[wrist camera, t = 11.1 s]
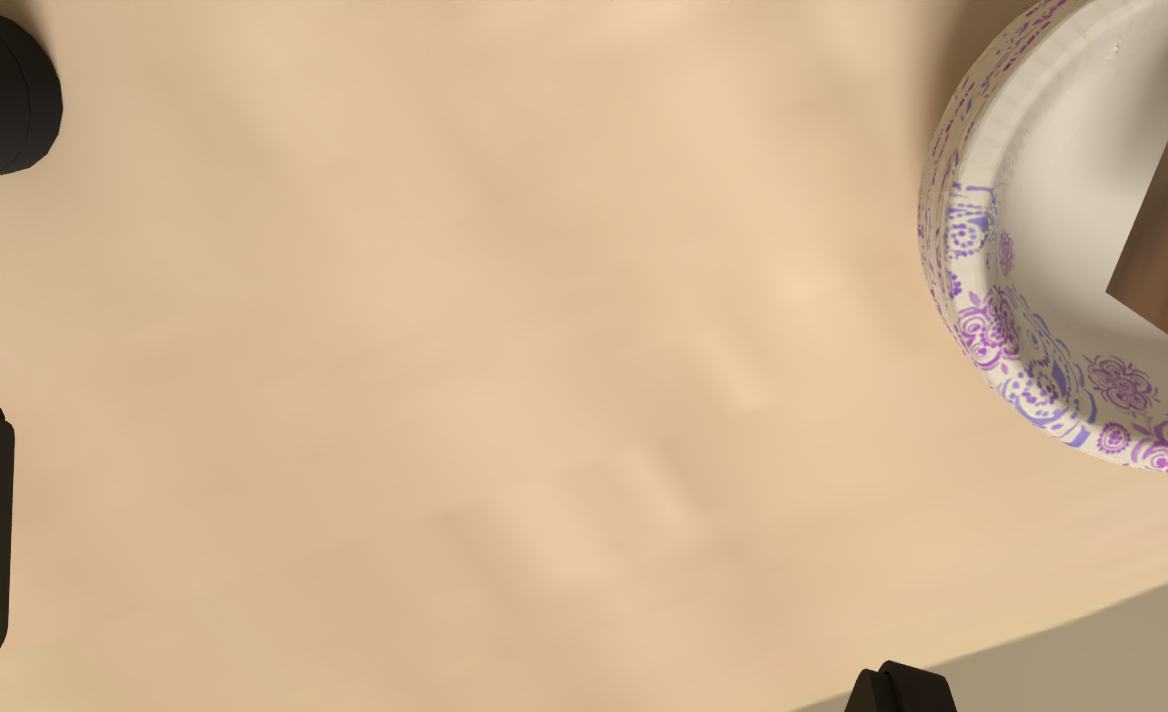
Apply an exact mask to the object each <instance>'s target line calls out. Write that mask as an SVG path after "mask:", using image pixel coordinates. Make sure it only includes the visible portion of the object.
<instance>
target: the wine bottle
mask: <svg viewBox="0 0 1168 712" xmlns="http://www.w3.org/2000/svg"><path fill="white" fill-rule="evenodd" d="M61 116H62V103H61V93H60V85H59V83H58V80H57V77H56V75H55V72H54V70H53V67H52V65H51V62H50V60H49V58H48V57H47V56H46V54H45V53H44V51H43V50H42V49H41V47H40V46H39V44H38V43H37V42H36V40H35V39H34V38H33V37H32V36H31V35H30V34H28V33H27V32H26V31H25V30H23V29H22V28H21V27H20V26H19V25H17V24H16V23H15V22H14V21H12V20H10V19H7V18H5V17H3V16H0V175H4V174H9V173H13V172H16V171H20V170H23V169H27V168H30V167H31V166H33V165H34V164H35V163H36V162H38V161H39V160H40V159H41V158H43V157H44V156H45V155H46V154H47V153H48V151H49V150H50V148H51V146H52V144H53V143H54V141H55V139H56V137H57V136H58V132H59V127H60V121H61Z"/></svg>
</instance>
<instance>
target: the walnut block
mask: <svg viewBox="0 0 1168 712" xmlns="http://www.w3.org/2000/svg"><path fill="white" fill-rule="evenodd" d="M1105 292H1106V293H1107V294H1109V295H1110V296H1112V297H1113V298H1115V299H1116V300H1118V301H1119V302H1120V303H1122V304H1123V305H1125V306H1126V307H1128V308H1129V309H1131V310H1132V311H1134V312H1135V313H1137V314H1138V315H1140V316H1141V317H1142V318H1144V319H1145V320H1147V321H1148V322H1150V323H1151V324H1153V325H1154V326H1156V327H1157V328H1159V329H1160V330H1162V331H1163V332H1165V333H1166V334H1167V335H1168V142H1167V144H1166V146H1165V149H1164V151H1163V154H1162V156H1161V158H1160V161H1159V163H1158V166H1157V168H1156V170H1155V173H1154V175H1153V178H1152V180H1151V183H1150V185H1149V187H1148V190H1147V192H1146V195H1145V197H1144V199H1143V202H1142V204H1141V207H1140V209H1139V211H1138V214H1137V216H1136V219H1135V221H1134V224H1133V226H1132V228H1131V231H1130V233H1129V236H1128V238H1127V240H1126V243H1125V245H1124V248H1123V250H1122V252H1121V255H1120V257H1119V260H1118V262H1117V265H1116V267H1115V269H1114V272H1113V274H1112V277H1111V279H1110V281H1109V284H1108V286H1107V289H1106V291H1105Z"/></svg>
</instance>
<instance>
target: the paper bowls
mask: <svg viewBox="0 0 1168 712" xmlns="http://www.w3.org/2000/svg"><path fill="white" fill-rule="evenodd" d="M1167 142H1168V0H1041V1H1039V2H1038V3H1036V4H1035V5H1033V6H1032V7H1031V8H1029V9H1028V10H1026V11H1025V12H1023V13H1022V14H1020V15H1019V16H1018V17H1016V18H1015V19H1014V20H1013V21H1012V22H1011V23H1010V24H1009V25H1008V26H1007V27H1006V28H1005V29H1004V30H1003V31H1002V32H1001V33H1000V34H999V35H998V36H997V37H996V38H995V39H994V40H993V41H992V42H991V43H990V44H989V46H988V47H987V48H986V49H985V51H984V52H983V53H982V54H981V55H980V56H979V58H978V59H977V60H976V61H975V62H974V64H973V65H972V66H971V68H970V69H969V70H968V72H967V73H966V75H965V76H964V78H963V79H962V81H961V82H960V84H959V85H958V87H957V89H956V90H955V92H954V94H953V95H952V97H951V99H950V101H949V103H948V105H947V107H946V110H945V112H944V114H943V116H942V118H941V120H940V122H939V125H938V127H937V129H936V131H935V133H934V136H933V139H932V142H931V144H930V148H929V151H928V154H927V157H926V160H925V164H924V167H923V171H922V177H921V184H920V189H919V194H918V222H917V235H918V242H919V250H920V257H921V261H922V266H923V271H924V275H925V278H926V281H927V284H928V287H929V290H930V293H931V295H932V297H933V300H934V302H935V304H936V307H937V309H938V312H939V314H940V316H941V318H942V320H943V322H944V324H945V326H946V328H947V329H948V331H949V332H950V334H951V336H952V337H953V339H954V340H955V341H956V343H957V344H958V345H959V347H960V348H961V349H962V351H963V352H964V354H965V355H966V357H967V358H968V360H969V361H970V362H971V363H972V364H973V365H974V366H975V368H976V369H977V370H978V371H979V372H980V374H981V376H982V377H983V378H984V380H985V381H986V382H987V383H988V385H989V386H990V387H991V388H992V389H993V390H994V391H995V392H996V393H997V394H998V396H999V397H1000V398H1001V399H1002V400H1004V401H1005V402H1006V403H1007V404H1009V406H1010V407H1011V408H1013V409H1014V410H1015V411H1016V412H1018V413H1019V414H1020V415H1021V416H1022V417H1024V418H1025V419H1026V420H1027V421H1029V422H1030V423H1032V424H1033V425H1035V426H1036V427H1038V428H1039V429H1041V430H1042V431H1044V432H1045V433H1047V434H1048V435H1050V436H1052V437H1054V438H1055V439H1057V440H1059V441H1061V442H1063V443H1065V444H1067V445H1069V446H1071V447H1073V448H1076V449H1078V450H1080V451H1082V452H1084V453H1087V454H1090V455H1092V456H1095V457H1097V458H1100V459H1103V460H1106V461H1110V462H1113V463H1116V464H1119V465H1125V466H1129V467H1134V468H1138V469H1146V470H1150V471H1160V472H1168V335H1167V334H1166V333H1165V332H1163V331H1162V330H1160V329H1159V328H1157V327H1156V326H1154V325H1153V324H1151V323H1150V322H1148V321H1147V320H1145V319H1144V318H1142V317H1141V316H1140V315H1138V314H1137V313H1135V312H1134V311H1132V310H1131V309H1129V308H1128V307H1126V306H1125V305H1123V304H1122V303H1120V302H1119V301H1118V300H1116V299H1115V298H1113V297H1112V296H1110V295H1109V294H1107V293H1106V292H1105V291H1106V289H1107V286H1108V284H1109V281H1110V279H1111V277H1112V274H1113V272H1114V269H1115V267H1116V265H1117V262H1118V260H1119V257H1120V255H1121V252H1122V250H1123V248H1124V245H1125V243H1126V240H1127V238H1128V236H1129V233H1130V231H1131V228H1132V226H1133V224H1134V221H1135V219H1136V216H1137V214H1138V211H1139V209H1140V207H1141V204H1142V202H1143V199H1144V197H1145V195H1146V192H1147V190H1148V187H1149V185H1150V183H1151V180H1152V178H1153V175H1154V173H1155V170H1156V168H1157V166H1158V163H1159V161H1160V158H1161V156H1162V154H1163V151H1164V149H1165V146H1166V144H1167Z"/></svg>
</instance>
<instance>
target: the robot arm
mask: <svg viewBox="0 0 1168 712" xmlns="http://www.w3.org/2000/svg"><path fill="white" fill-rule="evenodd" d="M14 447H15V434H14V429H13V427H12V425H11V424H10V423H9V422H7V421H5V416H4V414H3V412H2V409H1V408H0V648H1V646H2V644H3V642H4V640H5V637H6V634H7V629H8V614H9V586H10V559H11V531H12V503H13V475H14ZM844 712H957V710H956V707H955V704H954V701H953V698H952V695H951V692H950V688H949V685H948V683H947V681H946V679H945V677H943V676H941V675H938V674H935V673H931V672H928V671H925V670H921V669H918V668H914V667H911V666H907V665H904V664H900V663H897V662H893V661H890V660H888V661H886V662H884V663H883V665H882V666H881V667H880V669H879V671H878V672H876V671H873V670H869V669H863V670H862V671H861V673H860V674H859V676H858V678H857V680H856V683H855V685H854V688H853V691H852V693H851V696H850V698H849V701H848V703H847V706H846V709H845V711H844Z"/></svg>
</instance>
